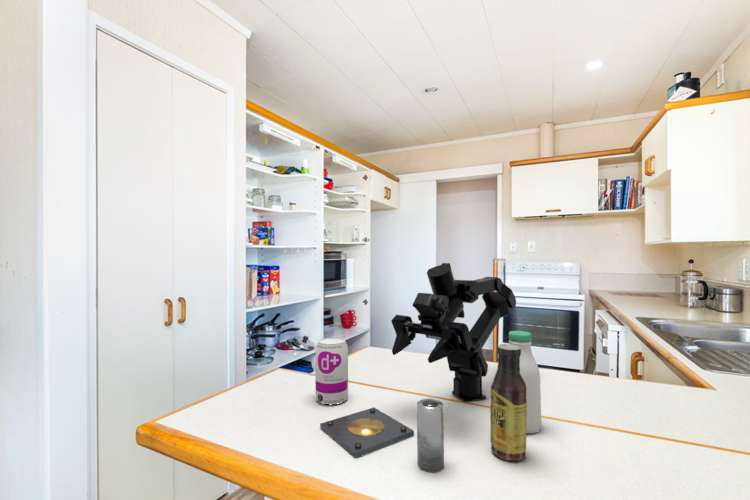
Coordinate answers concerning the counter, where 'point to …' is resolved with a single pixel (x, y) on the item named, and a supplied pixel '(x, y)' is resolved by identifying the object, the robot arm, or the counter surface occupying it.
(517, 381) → the sauce bottle
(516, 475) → the counter surface
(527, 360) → the milk bottle
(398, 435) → the flange plate
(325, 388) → the supplement can
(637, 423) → the counter surface
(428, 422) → the sleeve
